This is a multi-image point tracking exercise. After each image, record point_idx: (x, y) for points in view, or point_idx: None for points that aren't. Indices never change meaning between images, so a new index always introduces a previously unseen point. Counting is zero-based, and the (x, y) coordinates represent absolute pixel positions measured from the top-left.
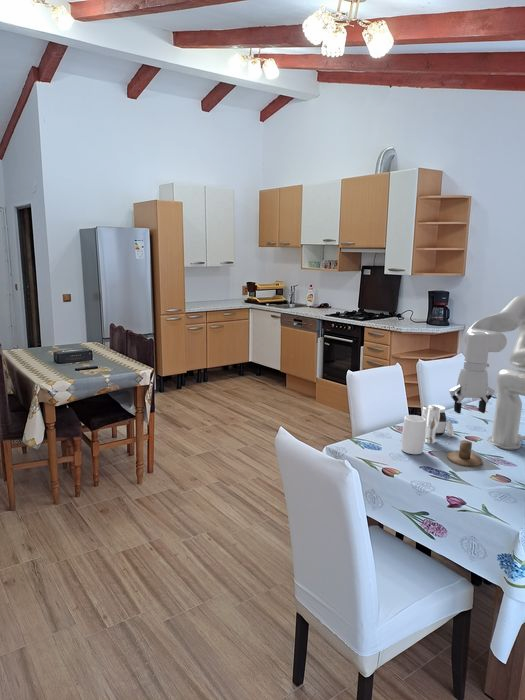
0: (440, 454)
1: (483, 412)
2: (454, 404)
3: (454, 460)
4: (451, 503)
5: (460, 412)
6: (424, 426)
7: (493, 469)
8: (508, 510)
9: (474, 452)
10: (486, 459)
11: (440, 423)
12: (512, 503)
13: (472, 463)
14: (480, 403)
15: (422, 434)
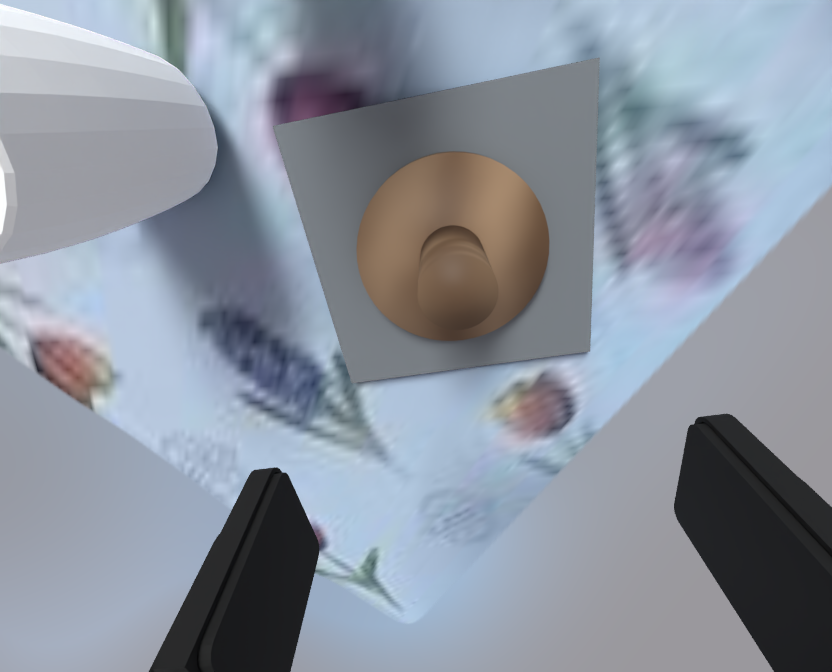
0: (332, 176)
1: (685, 522)
2: (178, 613)
3: (376, 301)
4: None
5: (314, 559)
6: (66, 226)
7: (548, 356)
8: (434, 570)
9: (584, 116)
10: (592, 236)
11: None
12: (468, 545)
13: (460, 332)
14: (795, 591)
15: (111, 228)
